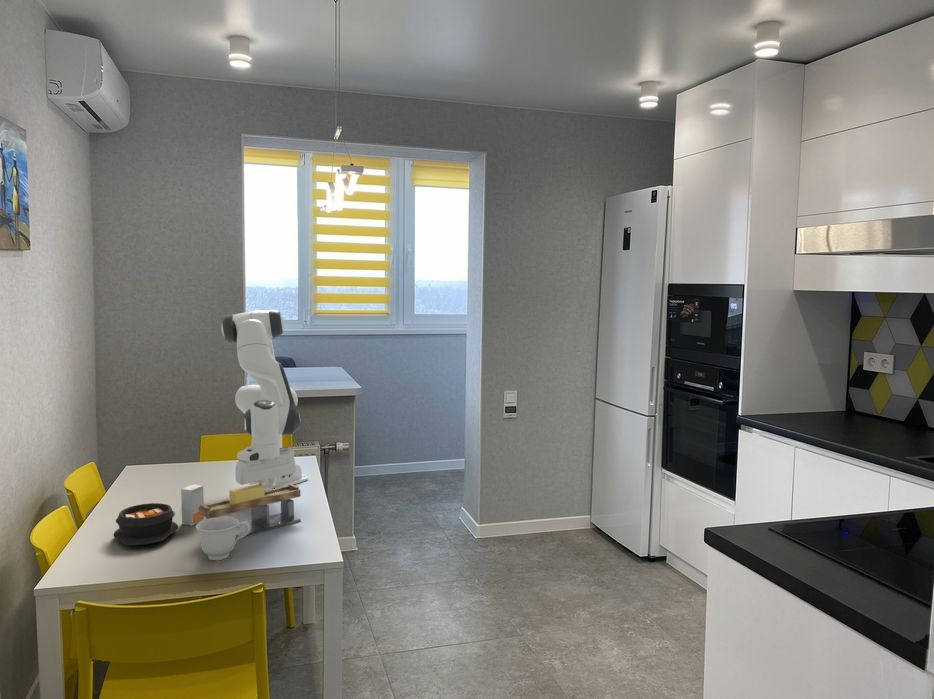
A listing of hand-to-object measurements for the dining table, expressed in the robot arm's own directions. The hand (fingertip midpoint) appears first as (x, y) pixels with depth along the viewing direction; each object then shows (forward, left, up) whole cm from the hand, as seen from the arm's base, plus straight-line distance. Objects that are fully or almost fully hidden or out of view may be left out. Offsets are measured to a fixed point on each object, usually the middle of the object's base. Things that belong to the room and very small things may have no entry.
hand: (266, 492), depth 235 cm
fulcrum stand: (+5, 0, -11) cm, 12 cm away
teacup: (+22, +15, -11) cm, 29 cm away
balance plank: (+5, 0, -3) cm, 6 cm away
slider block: (+7, 0, -2) cm, 7 cm away
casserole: (+32, -17, -11) cm, 38 cm away
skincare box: (+16, -19, -11) cm, 28 cm away
